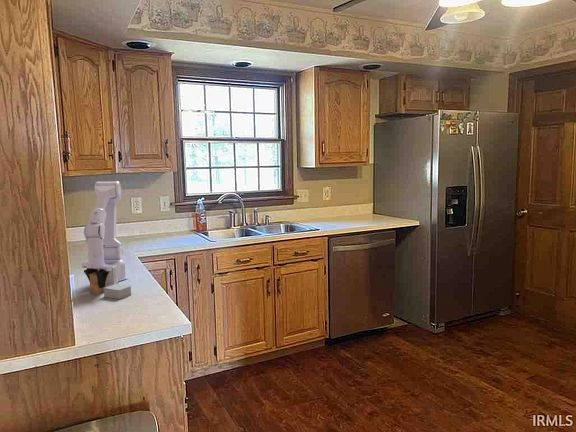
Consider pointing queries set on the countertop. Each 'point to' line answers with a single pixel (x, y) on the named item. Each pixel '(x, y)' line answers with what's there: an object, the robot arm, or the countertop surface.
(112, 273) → the medicine box
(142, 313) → the countertop surface
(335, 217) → the countertop surface
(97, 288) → the oak column
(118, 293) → the light grey riser
